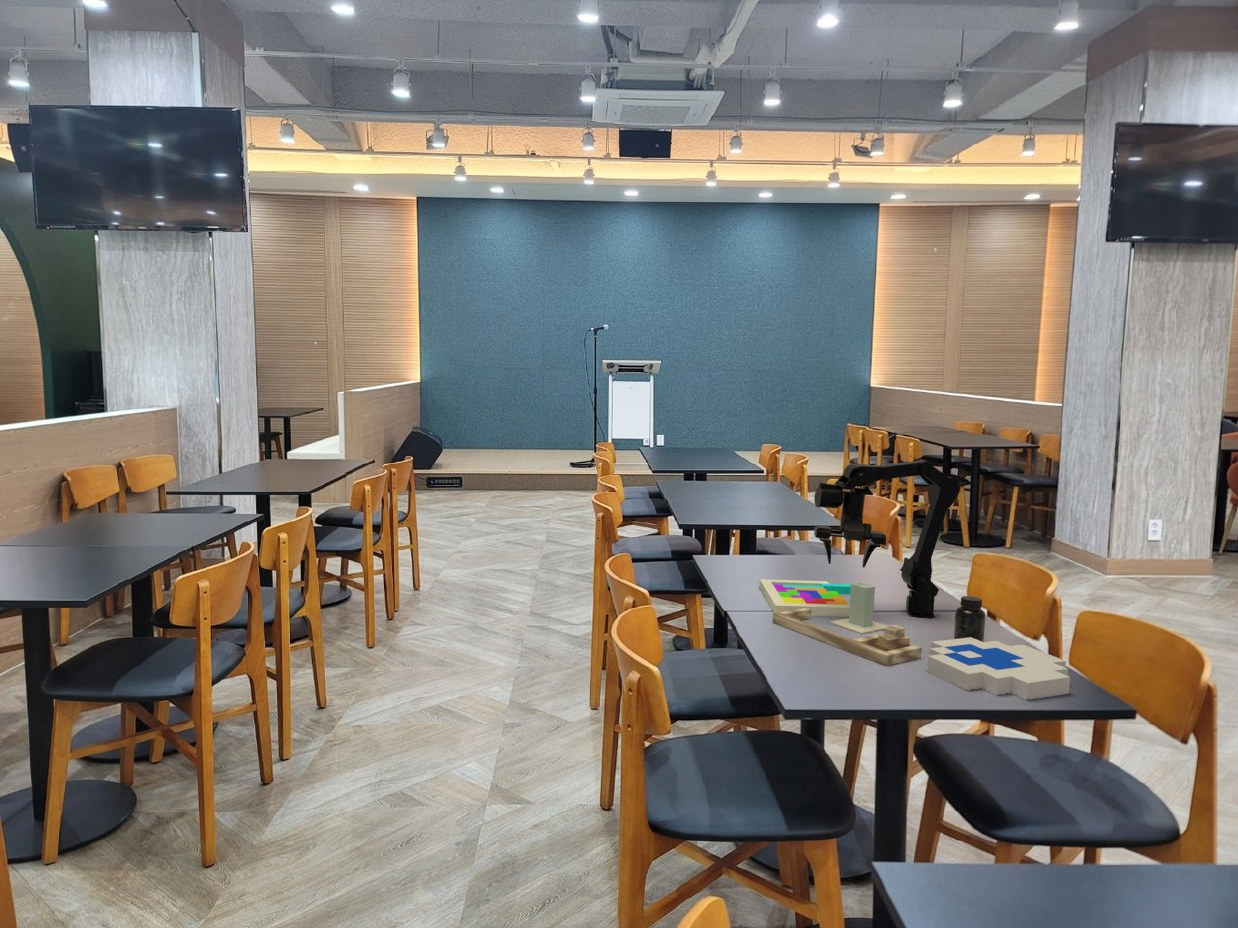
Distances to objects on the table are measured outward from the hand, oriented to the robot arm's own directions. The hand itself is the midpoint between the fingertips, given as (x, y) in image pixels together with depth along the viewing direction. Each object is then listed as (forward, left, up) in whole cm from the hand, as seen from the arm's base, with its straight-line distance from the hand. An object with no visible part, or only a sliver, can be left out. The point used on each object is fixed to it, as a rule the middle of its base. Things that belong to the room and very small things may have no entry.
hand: (846, 565), depth 233 cm
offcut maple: (-7, +32, -10) cm, 34 cm away
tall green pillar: (-3, +11, -13) cm, 17 cm away
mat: (-3, +11, -14) cm, 18 cm away
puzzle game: (+5, -12, -14) cm, 19 cm away
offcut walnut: (-7, +33, -14) cm, 36 cm away
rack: (+4, +24, -14) cm, 28 cm away
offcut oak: (-7, +33, -12) cm, 35 cm away
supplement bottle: (-27, +23, -14) cm, 38 cm away
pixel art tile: (-27, +43, -14) cm, 53 cm away
